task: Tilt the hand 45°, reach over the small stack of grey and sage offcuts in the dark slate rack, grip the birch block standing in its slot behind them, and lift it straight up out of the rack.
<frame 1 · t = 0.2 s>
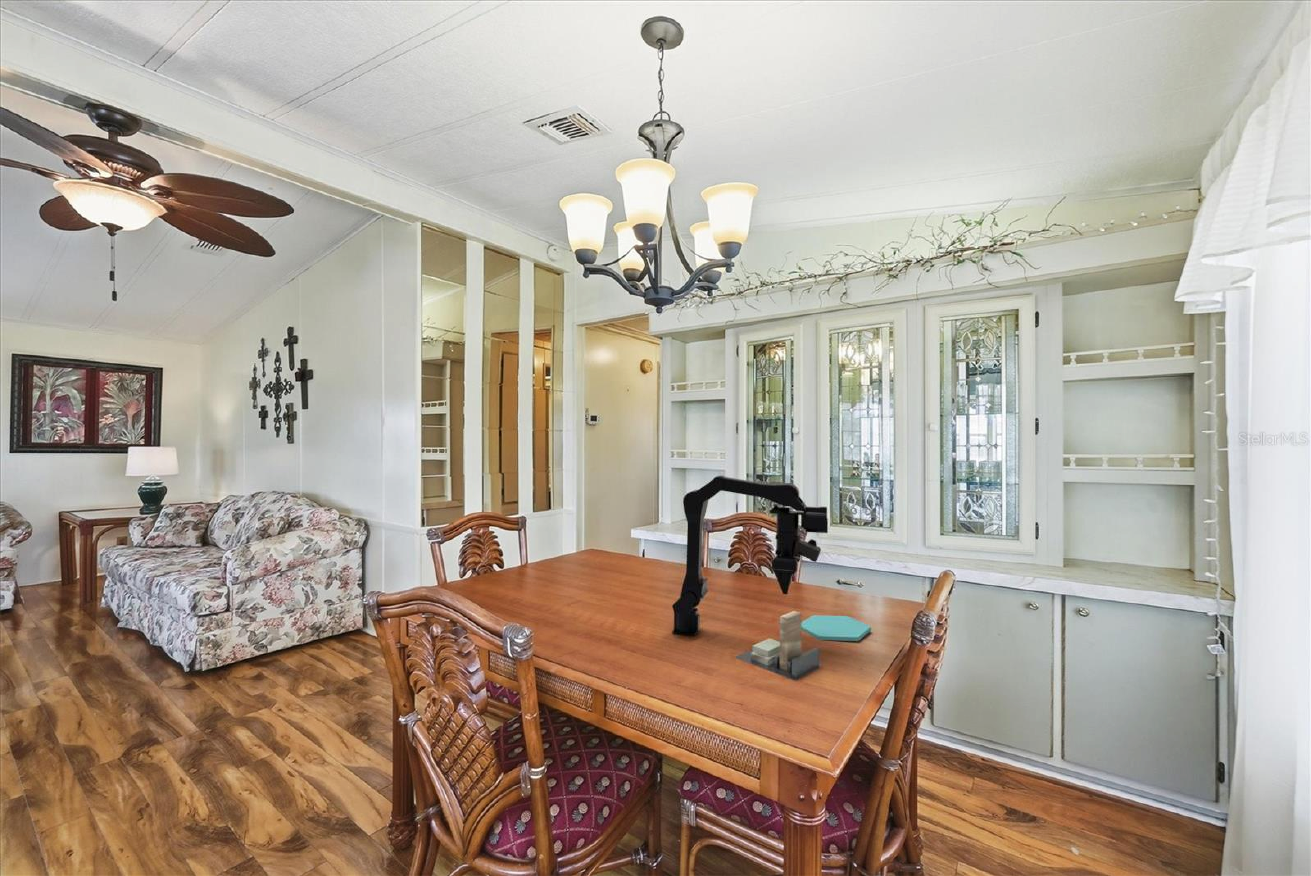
hand: (786, 589, 143), 14 cm above the table, tool pointing down, fingers open, 9 cm apart
offcut upper: (768, 650, 131), point 2 cm above the table, touching offcut lower
plaque: (834, 632, 153), on the table
offcut lower: (769, 657, 131), point 1 cm above the table, touching offcut rack, offcut upper
birch block: (790, 665, 126), point 1 cm above the table, touching offcut rack
offcut rack: (790, 669, 126), on the table
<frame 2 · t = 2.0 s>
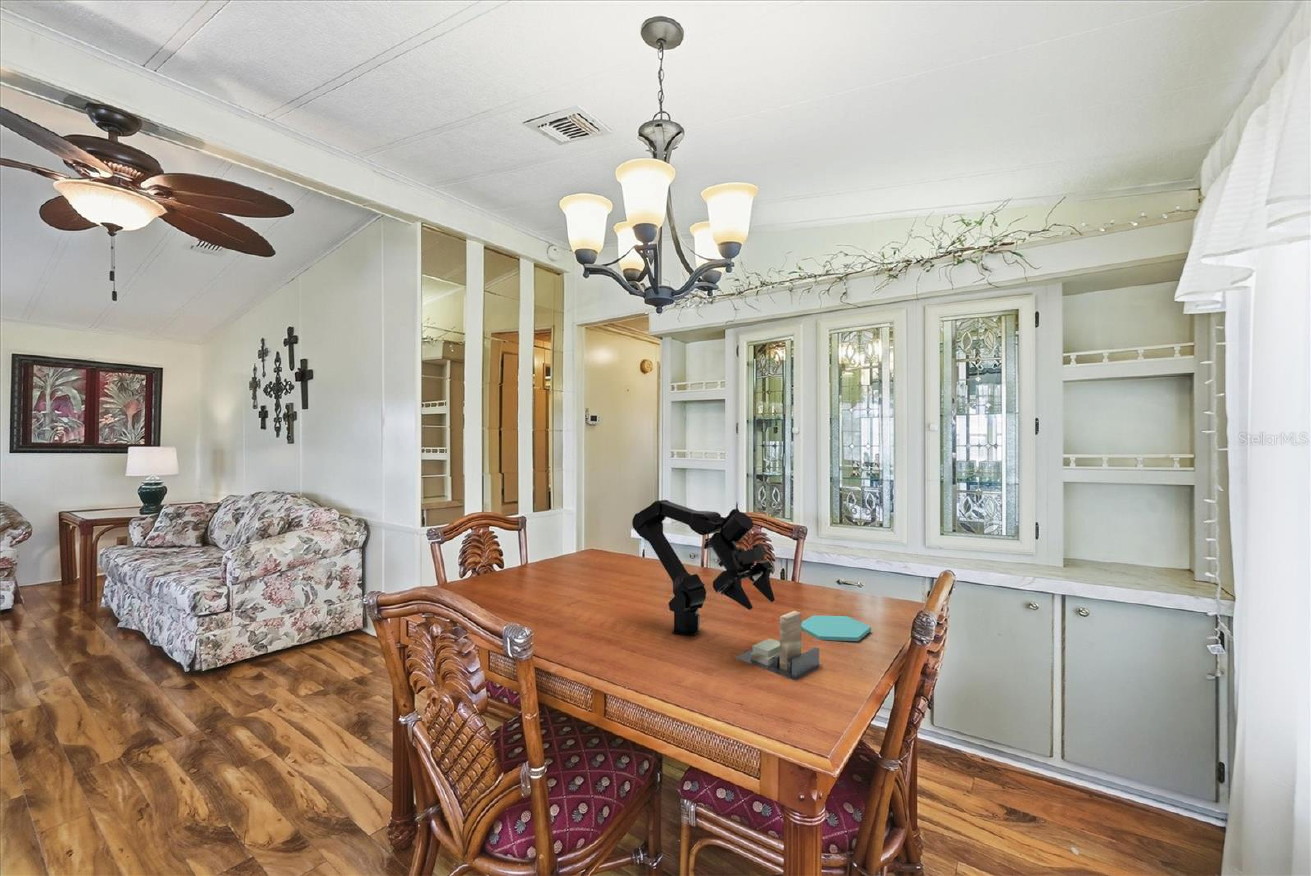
hand: (762, 604, 132), 13 cm above the table, tool tilted 45°, fingers open, 9 cm apart
nothing on the table moved.
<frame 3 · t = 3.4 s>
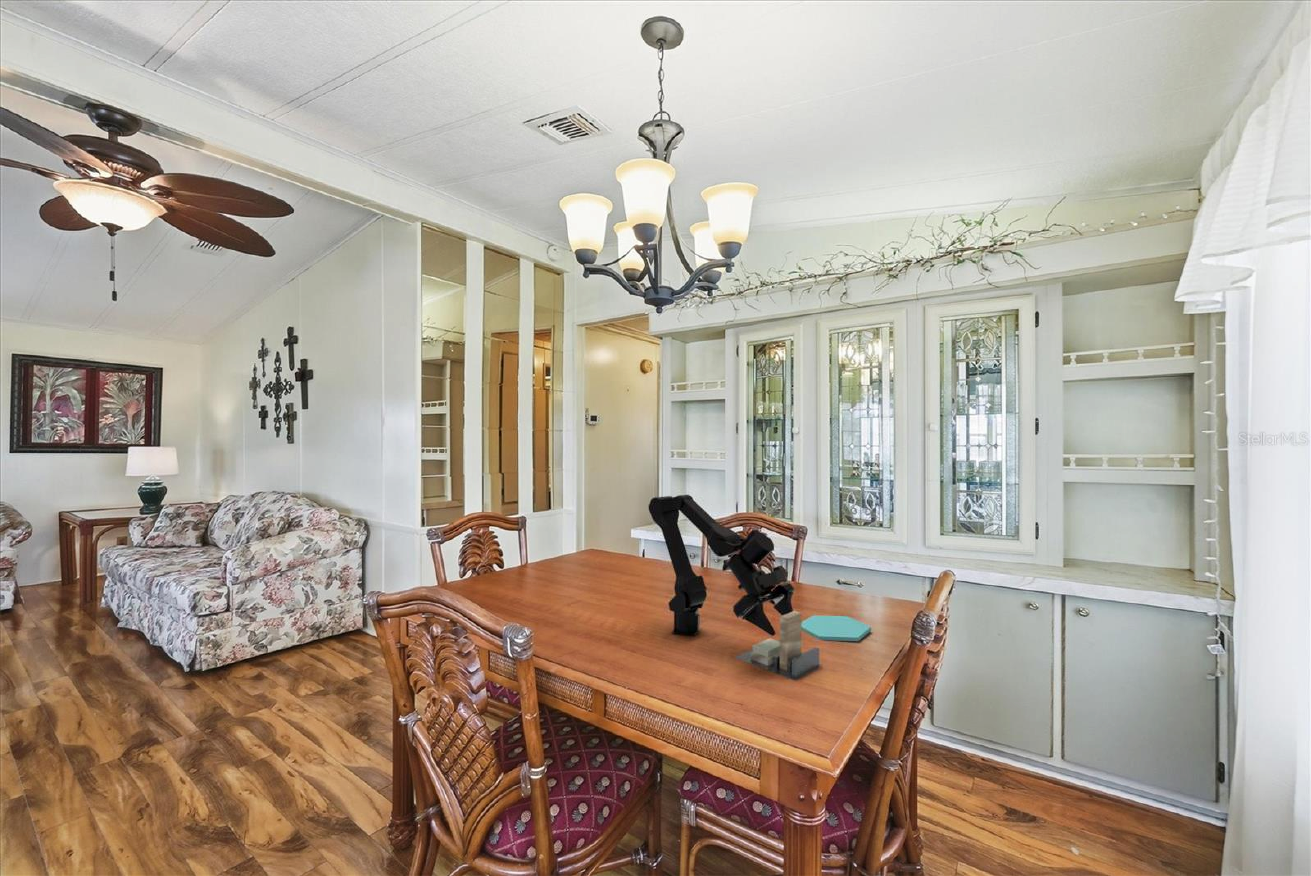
hand: (785, 630, 127), 9 cm above the table, tool tilted 45°, fingers open, 9 cm apart
nothing on the table moved.
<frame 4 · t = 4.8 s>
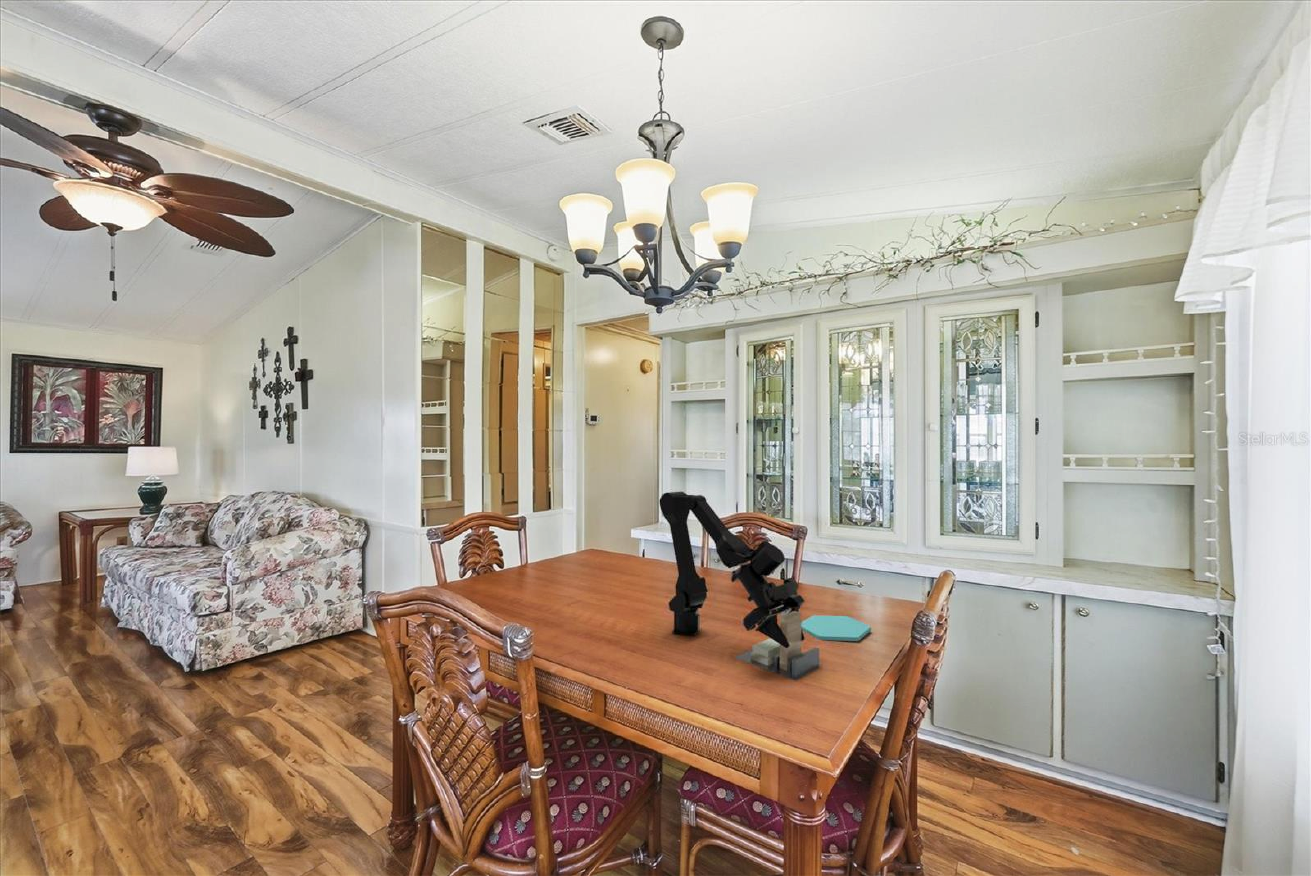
hand: (795, 643, 125), 7 cm above the table, tool tilted 45°, fingers closed on birch block, 6 cm apart
birch block: (790, 665, 126), point 1 cm above the table, touching gripper, offcut rack
everything else where it was.
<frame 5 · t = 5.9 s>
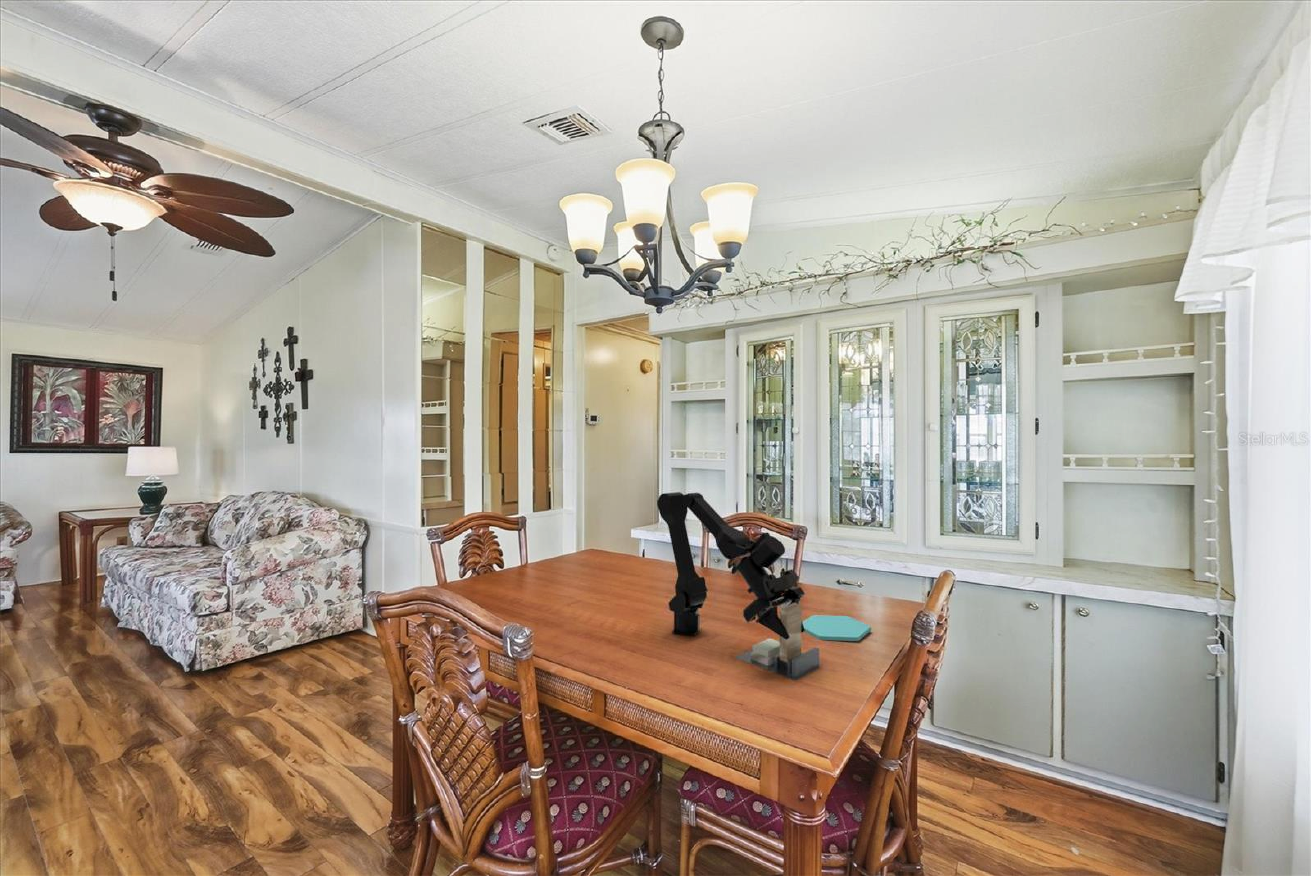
hand: (795, 635, 125), 9 cm above the table, tool tilted 45°, fingers closed on birch block, 6 cm apart
birch block: (790, 657, 126), point 3 cm above the table, touching gripper
everything else where it was.
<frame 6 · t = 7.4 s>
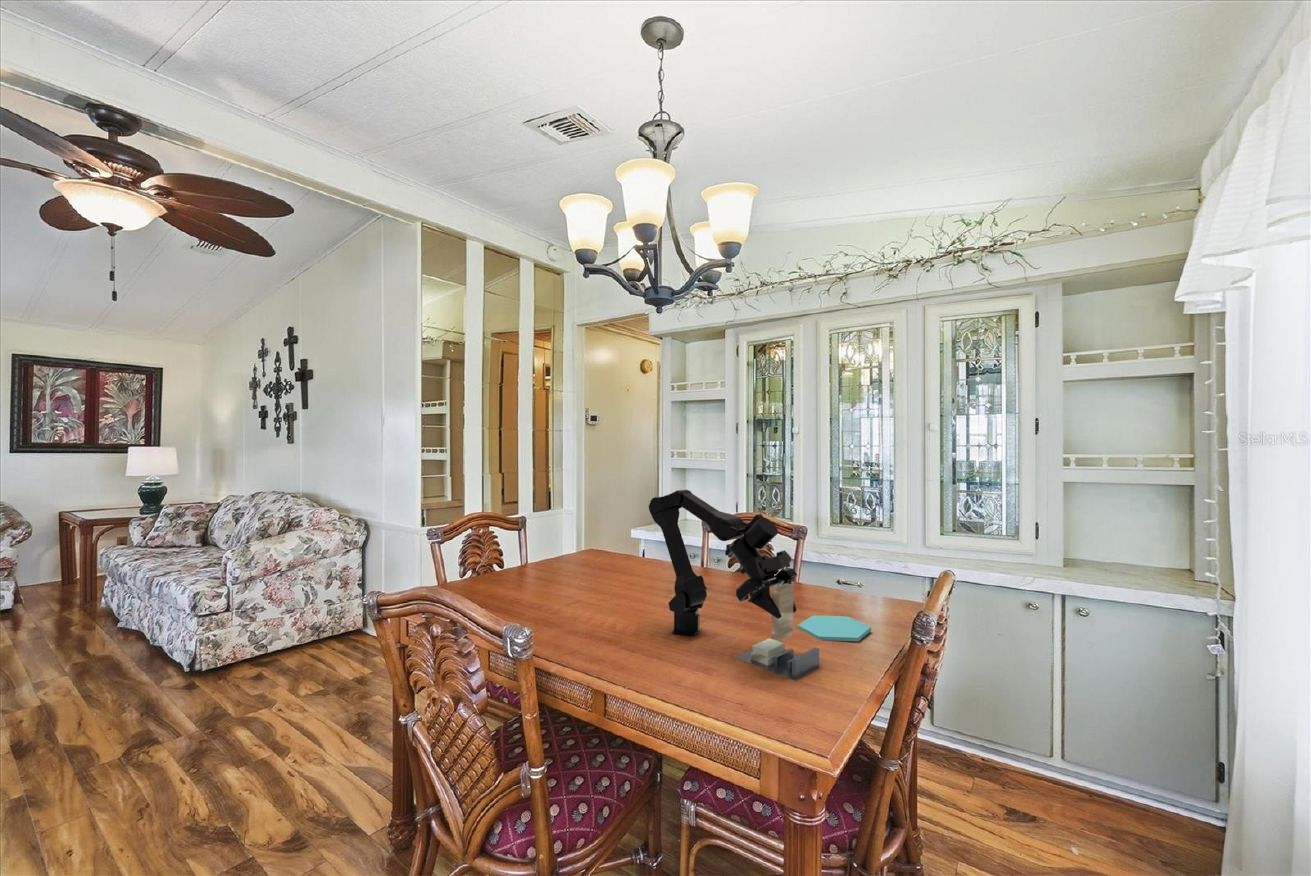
hand: (787, 614, 127), 13 cm above the table, tool tilted 45°, fingers closed on birch block, 6 cm apart
birch block: (782, 636, 128), point 7 cm above the table, touching gripper
everything else where it was.
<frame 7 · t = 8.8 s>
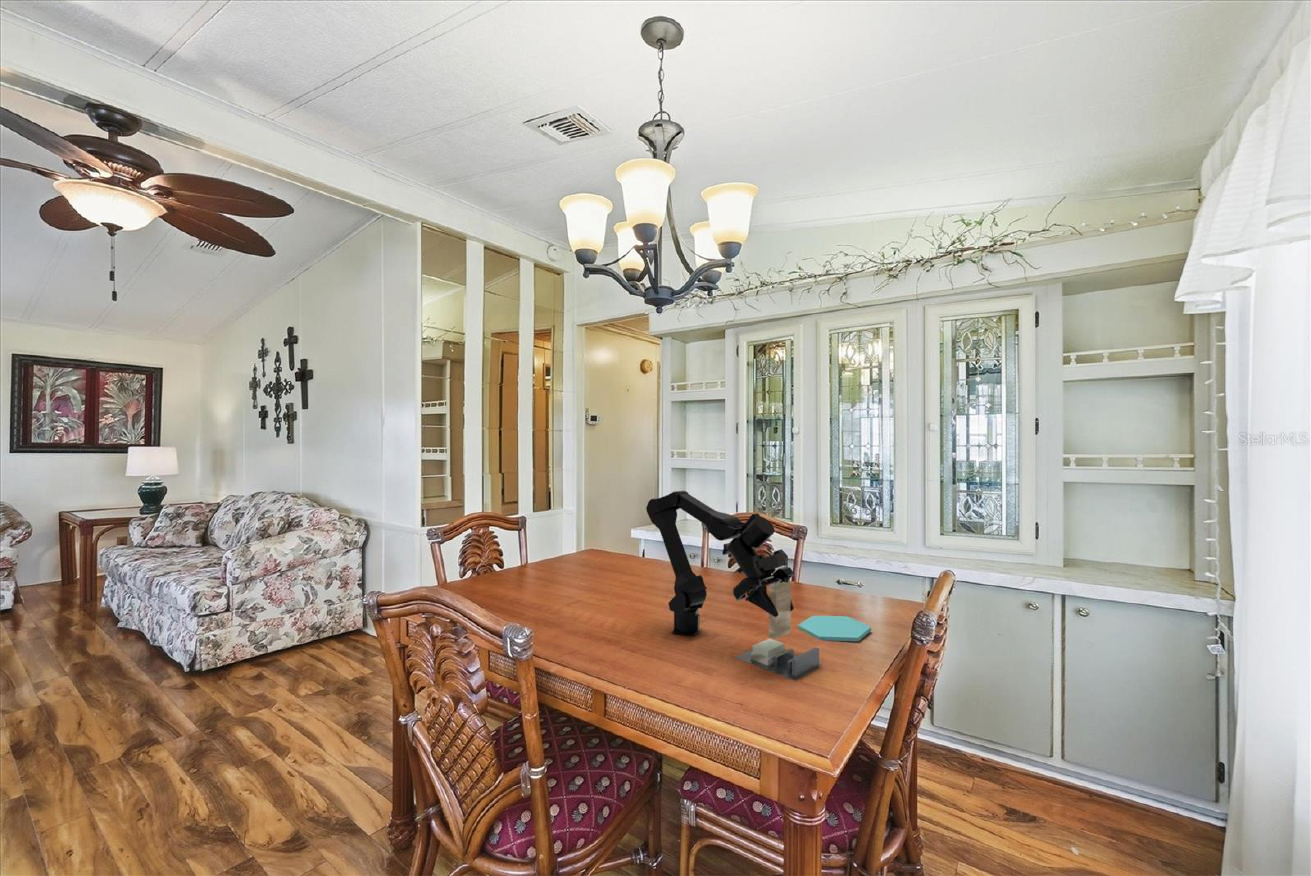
hand: (784, 613, 127), 13 cm above the table, tool tilted 45°, fingers closed on birch block, 6 cm apart
birch block: (779, 635, 128), point 7 cm above the table, touching gripper
everything else where it was.
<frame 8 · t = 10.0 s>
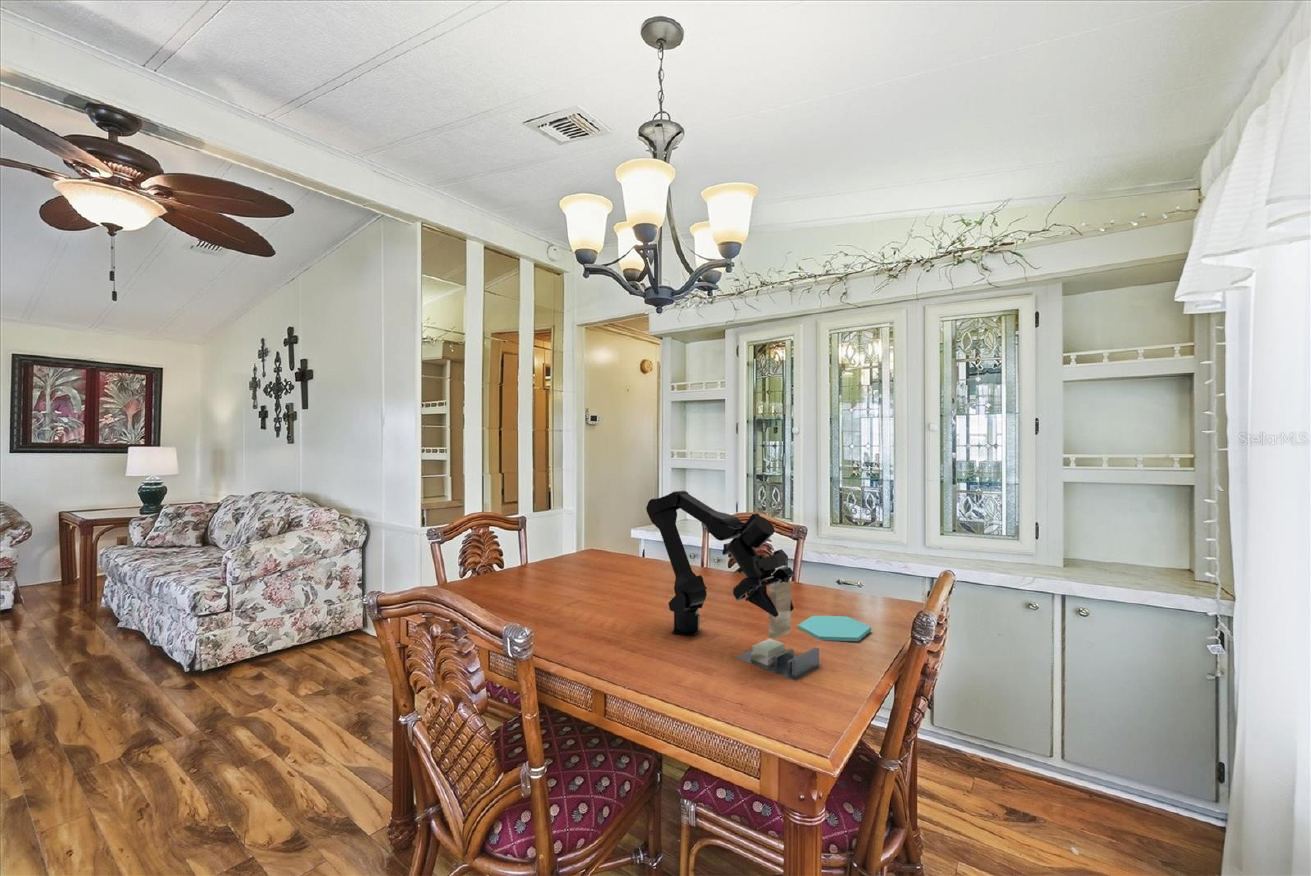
hand: (784, 613, 127), 13 cm above the table, tool tilted 45°, fingers closed on birch block, 6 cm apart
birch block: (779, 635, 128), point 7 cm above the table, touching gripper
everything else where it was.
at the end: the gripper is holding birch block; birch block point 7.4 cm above the table; offcut upper moved 0.0 cm from its start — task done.
